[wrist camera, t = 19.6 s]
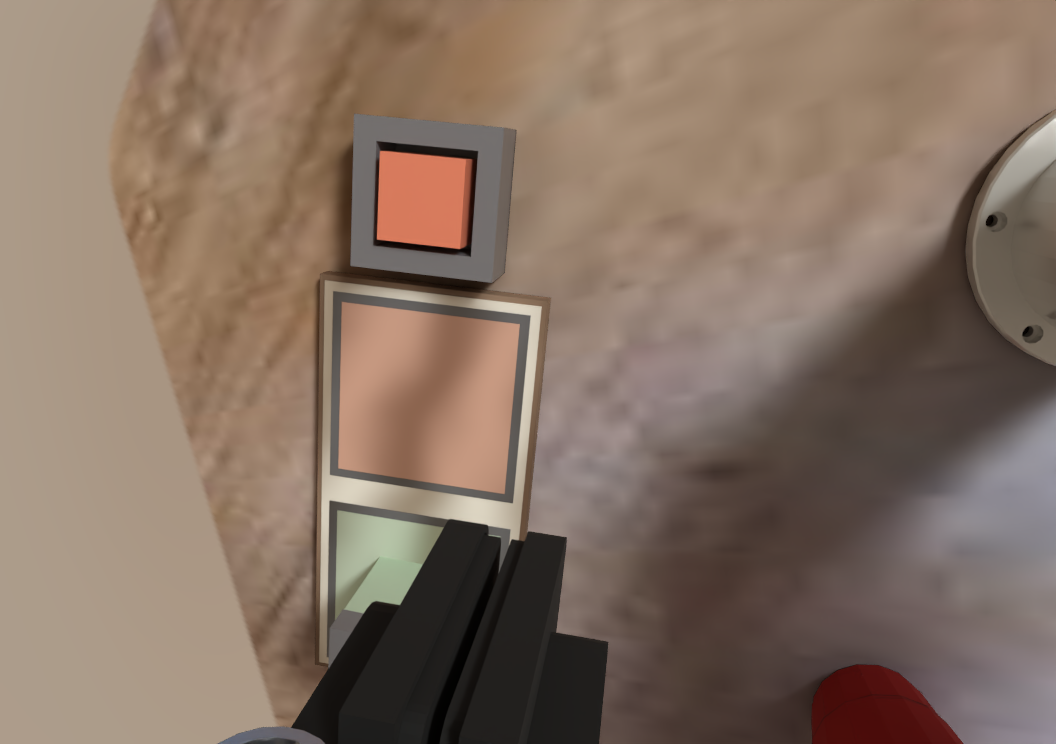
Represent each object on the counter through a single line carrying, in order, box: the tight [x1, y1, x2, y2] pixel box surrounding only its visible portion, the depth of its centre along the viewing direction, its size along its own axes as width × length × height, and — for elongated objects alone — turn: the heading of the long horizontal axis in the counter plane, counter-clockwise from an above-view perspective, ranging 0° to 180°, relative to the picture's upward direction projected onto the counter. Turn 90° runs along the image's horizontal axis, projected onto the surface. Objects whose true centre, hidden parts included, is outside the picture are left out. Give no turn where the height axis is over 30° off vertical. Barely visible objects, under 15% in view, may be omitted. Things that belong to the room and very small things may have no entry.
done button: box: [377, 151, 478, 249], centre depth 36 cm, size 4×4×3 cm
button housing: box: [350, 114, 516, 283], centre depth 37 cm, size 7×7×3 cm
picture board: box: [315, 271, 551, 667], centre depth 43 cm, size 12×24×1 cm, turn 175°
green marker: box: [328, 556, 423, 669], centre depth 40 cm, size 4×4×7 cm
